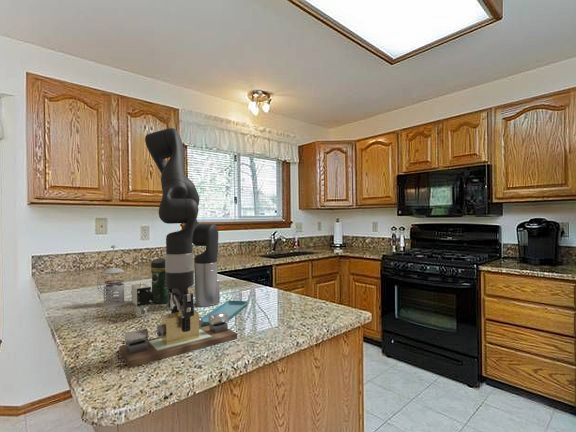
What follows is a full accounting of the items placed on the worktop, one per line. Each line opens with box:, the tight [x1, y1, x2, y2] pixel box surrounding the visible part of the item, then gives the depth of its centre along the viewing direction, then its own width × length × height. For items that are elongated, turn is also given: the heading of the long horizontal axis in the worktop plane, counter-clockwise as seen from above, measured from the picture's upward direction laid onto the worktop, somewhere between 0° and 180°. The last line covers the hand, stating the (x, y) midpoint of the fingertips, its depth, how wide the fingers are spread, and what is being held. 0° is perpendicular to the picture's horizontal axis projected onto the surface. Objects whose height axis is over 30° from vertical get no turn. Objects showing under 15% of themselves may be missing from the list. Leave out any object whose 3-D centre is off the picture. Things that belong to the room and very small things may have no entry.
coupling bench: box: [118, 312, 238, 368], centre depth 92 cm, size 29×12×6 cm, turn 127°
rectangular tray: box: [201, 300, 250, 327], centre depth 119 cm, size 26×9×2 cm, turn 167°
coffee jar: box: [150, 258, 168, 304], centre depth 141 cm, size 10×8×19 cm
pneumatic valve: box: [130, 282, 153, 318], centre depth 121 cm, size 6×12×12 cm, turn 38°
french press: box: [96, 244, 128, 308], centre depth 138 cm, size 10×12×25 cm
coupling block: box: [156, 309, 204, 345], centre depth 91 cm, size 12×4×7 cm, turn 127°
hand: (180, 327), depth 92 cm, fingers open, 8 cm apart
